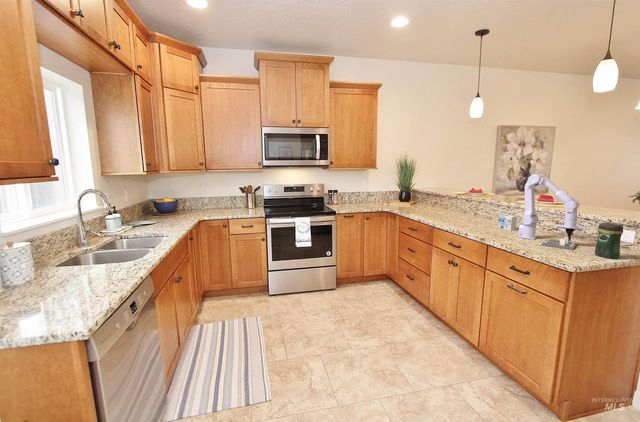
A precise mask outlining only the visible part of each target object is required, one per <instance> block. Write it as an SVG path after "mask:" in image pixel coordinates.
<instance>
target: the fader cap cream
mask: <svg viewBox="0 0 640 422" xmlns="http://www.w3.org/2000/svg"><path fill="white" fill-rule="evenodd" d="M559 240H560V245H564V246H565V243H566V239H563V238H560V239H559Z"/></svg>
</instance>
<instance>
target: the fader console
mask: <svg viewBox="0 0 640 422" xmlns="http://www.w3.org/2000/svg"><path fill="white" fill-rule="evenodd" d="M577 245H578V243H577V242H575V241H574V242H573V241H569V243H565V246H564V245H560V239H554V238H553V239H552V238H547V239H545V240H544V241H543V242H542V243H541V246H544V247H550V248H555V249H556V248H557V249H562V250H568V251H569V250H570V251H574V249H575V248H576V246H577Z"/></svg>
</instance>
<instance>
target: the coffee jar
mask: <svg viewBox="0 0 640 422" xmlns="http://www.w3.org/2000/svg"><path fill="white" fill-rule="evenodd" d="M597 231H598V232H597V240H596V246H595V250H594V255H595V256H598V257H601V258H606V259H612V260H615V259H619V258H620V256H621V238H622V235H623V233H624V226H623V225H621V224H616V223H611V222H610V223H609V222H600V223H599V224H598V228H597Z"/></svg>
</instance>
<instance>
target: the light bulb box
mask: <svg viewBox="0 0 640 422" xmlns="http://www.w3.org/2000/svg"><path fill="white" fill-rule="evenodd" d="M517 221H518V216H515V215H509V214H499V215H498V225H497V229H501V228H502V230H505V229H507V230H506V231H510V230H511V231H515V229H516V230H517V224H518V223H517Z"/></svg>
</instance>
